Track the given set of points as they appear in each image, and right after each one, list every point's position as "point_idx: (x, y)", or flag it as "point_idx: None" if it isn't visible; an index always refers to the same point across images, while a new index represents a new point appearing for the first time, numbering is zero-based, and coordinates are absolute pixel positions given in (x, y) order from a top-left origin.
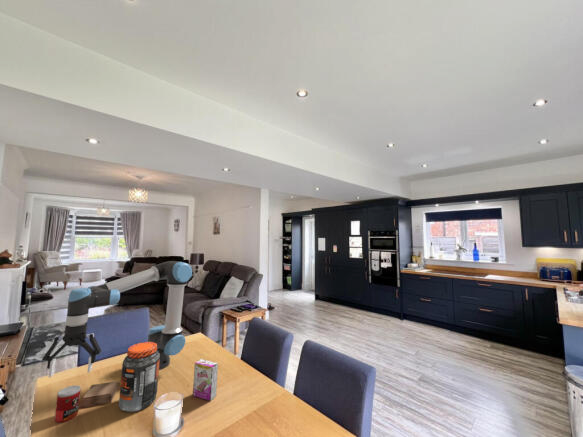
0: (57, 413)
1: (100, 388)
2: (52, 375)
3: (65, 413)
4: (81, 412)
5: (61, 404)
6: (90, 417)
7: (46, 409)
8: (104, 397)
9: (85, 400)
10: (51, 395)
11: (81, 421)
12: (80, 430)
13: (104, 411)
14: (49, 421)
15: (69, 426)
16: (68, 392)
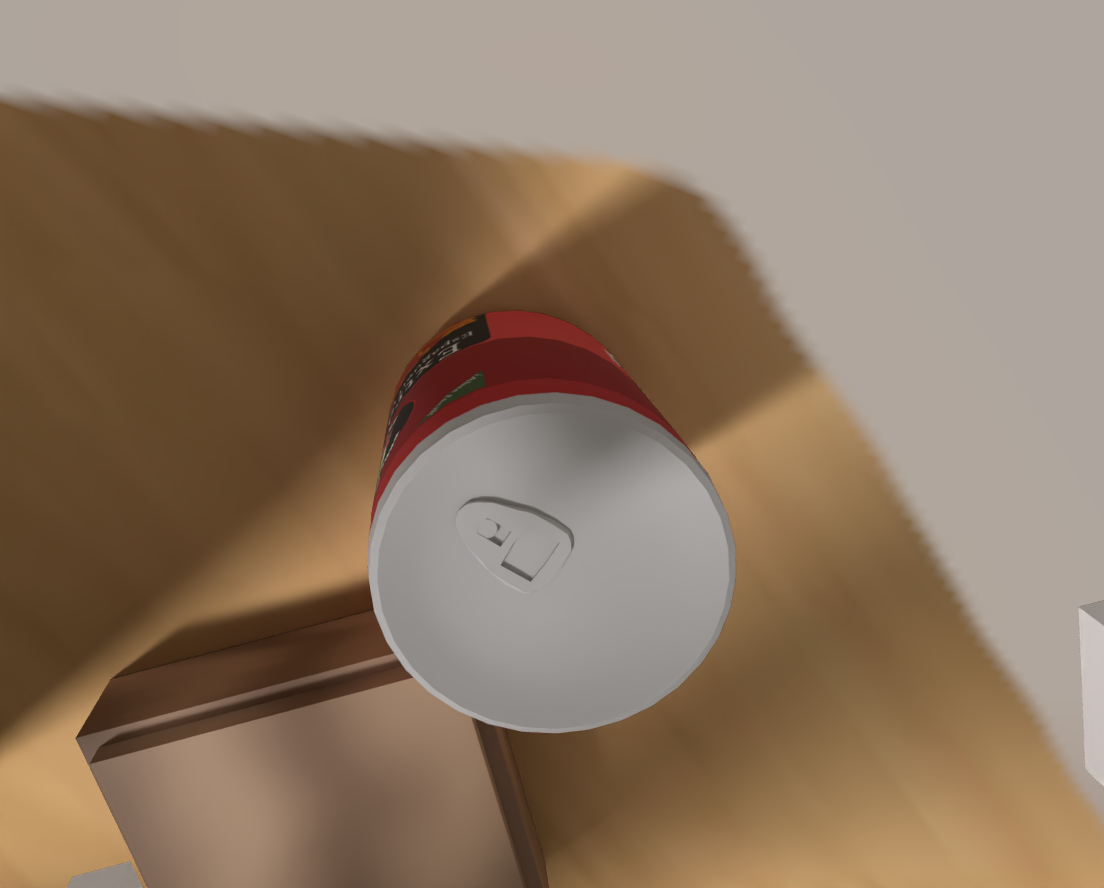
0: (578, 340)
1: (351, 869)
2: (1082, 689)
3: (464, 341)
4: None
5: (543, 360)
6: (172, 392)
7: (861, 574)
8: (173, 706)
9: None
10: (974, 812)
11: (238, 318)
12: (105, 127)
13: (62, 504)
14: (669, 350)
15: (331, 228)
16: (535, 522)
